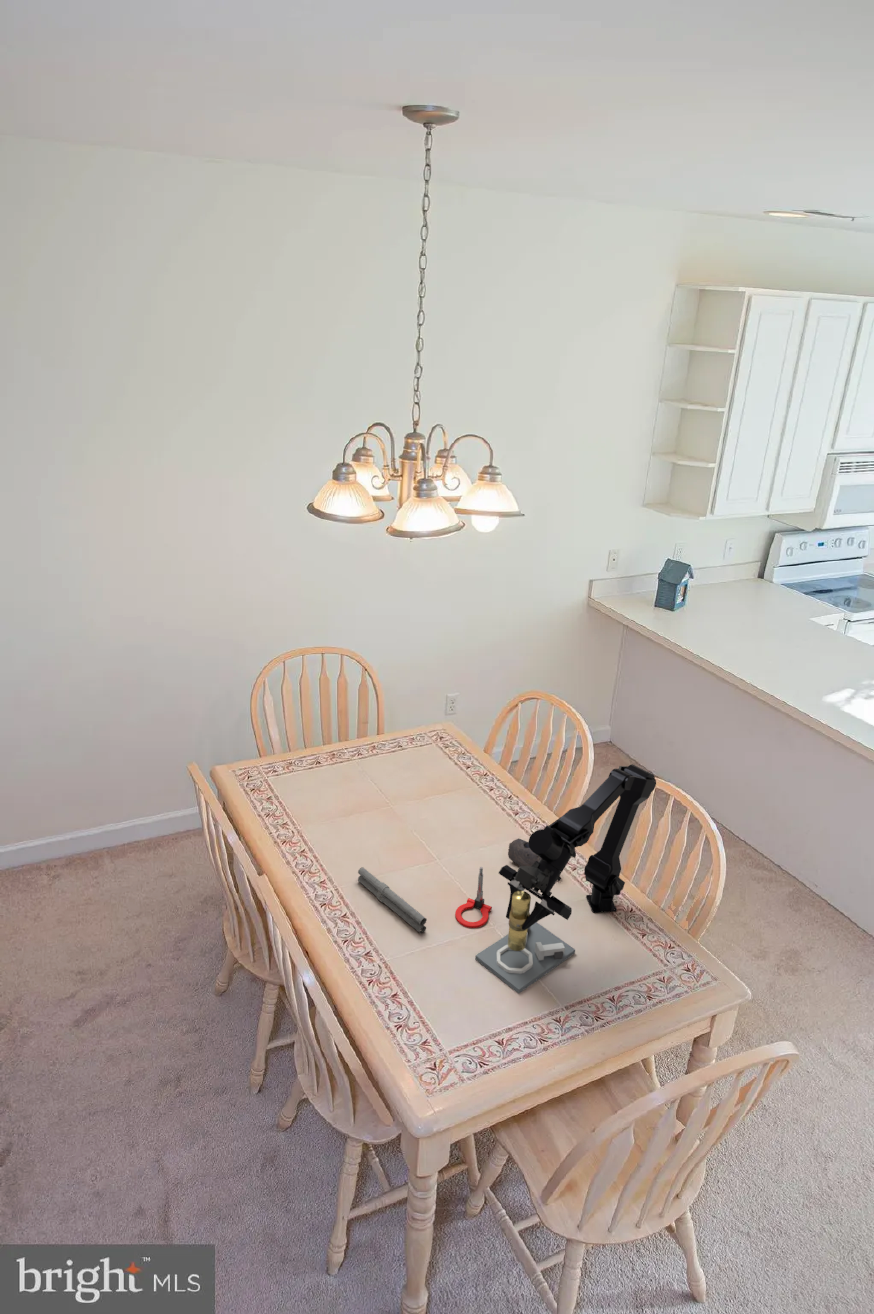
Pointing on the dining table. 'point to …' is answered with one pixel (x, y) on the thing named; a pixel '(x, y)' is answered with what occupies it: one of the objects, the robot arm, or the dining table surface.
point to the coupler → (518, 920)
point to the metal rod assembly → (392, 900)
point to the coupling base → (525, 958)
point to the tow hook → (477, 903)
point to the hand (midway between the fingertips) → (515, 923)
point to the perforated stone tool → (522, 853)
